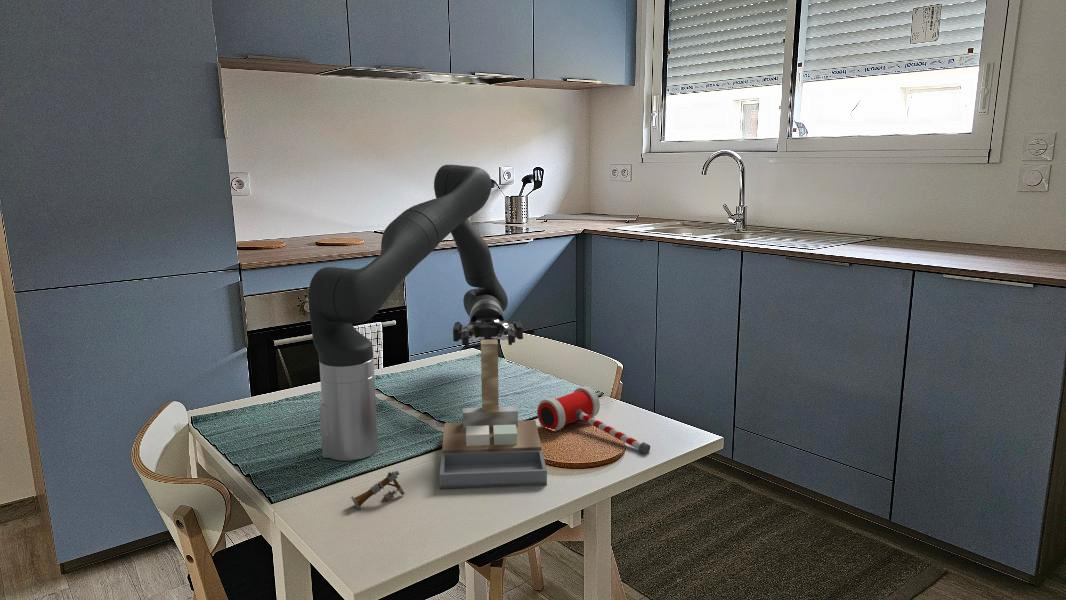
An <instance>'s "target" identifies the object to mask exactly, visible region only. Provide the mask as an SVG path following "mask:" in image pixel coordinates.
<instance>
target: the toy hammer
mask: <svg viewBox="0 0 1066 600" xmlns="http://www.w3.org/2000/svg"><path fill="white" fill-rule="evenodd" d="M600 406H601V403H600V399H599V396H598V394H597V393H596V391H595V390H594V389H593V388H592V387H589V386H586V385H585V386H582V387H581V386H580V387H578V388H576V389H575V390H574V391H573V392H571V393H569V394H566V395H563V396H560V397H556V398H553V397H549V398H546V399H543V400H541V401H540V402H539V403H538V405H537V408H536V414H537V415H536V416H537V419H538V421H539V424H540V425H541V427H542V428H543V427H547V428H551V429H555V430H558V429H560V430H562V429H563V428H564V426H565V425H568V424H571V423H573V422H576V421H579V420H582V421H584V422H586V423H588V424H590V425H592V426H594V427H595V428H597V429H599V430H600V431H603V432H605V433H607V434H608V435H610V436H612V437H614V438H616V439H618V440H620V441H622V442H623V443H626V444H628V445H629V446H631V447H632V448H635V449H637V450H638V452H639V453H640V454H642V455H646V454H648V453H650V450H651V445H650V444H648V443H646V442H645V441H642V442H641V441H639V440H637V439H635V438H633V437H631V436H629V435H627V434H625V433H623V432H621V431H619V430H617V429H616V428H614V427H612V426H610V425H608V424H607V423H604V422H602V421H600V420H599V419H597V418H595V417H596V416H597V415H598V414H599V412H600V409H601V407H600ZM561 428H562V429H561ZM558 431H559V430H558Z"/></svg>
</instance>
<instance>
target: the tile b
mask: <svg viewBox="0 0 1066 600" xmlns="http://www.w3.org/2000/svg"><path fill="white" fill-rule="evenodd" d="M493 437H494V445H509V444H517V429H516V424H515V425H493Z"/></svg>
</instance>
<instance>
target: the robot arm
mask: <svg viewBox="0 0 1066 600" xmlns="http://www.w3.org/2000/svg"><path fill="white" fill-rule="evenodd" d="M492 182H493V181H492V178H491V176H490V174H489V173H488V171H486V170H485V169H483V168H481V167H477V166H473V165H472V166H471V165H462V164H461V165H460V164H444V165H441V167H439V168H438V170H437V172H436V173H435V176H434V180H433V190H434V195H435V198H433V199H430V200H426V201H424V202H421V203H418V204H416V205H413V206H411V207H409V208H407V209H405V210H404V211H402V213H401V214H398V216H397V217H395V219H393V220H392V221H391V222H390V223H388V225H387V226H386V227H385V229H384V231H383V233H382V236H381V243H380V253H379V255H377V256H376V257H375V258H374V259H373V260H372V261H371V262H370V263H368V264H367V265H365V266H363V267H362V268H349V267H348V268H347V267H340V266H339V267H336V266H326V267H322V268H320V269H319V270H317V271H316V272H315V273H314V274H313V276H312V278H311V280H310V284H309V287H308V299H307V300H308V301H307V302H308V310H309V311H308V312H309V318H310V319H309V320H310V327H311V335H312V336H311V337H312V341H313V345H314V347H315V349H316V351H317V354H318V361H319V378H320V392H321V403H320V405H319V407H318V410H319V420H320V422H319V423H320V435H321V436H320V437H321V453H322V458H325V459H326V458H329V459H332V460H335V461H341V462H342V461H344V462H345V461H347V462H348V461H349V462H350V461H357V460H361V459H365V458H367V457H370V456H372V455H374V454H376V452H377V451H378V449H379V442H378V441H379V436H378V423H377V422H378V421H377V420H378V419H377V418H378V417H377V400H376V399H377V398H376V397H377V396H376V380H375V362H374V345H373V342H372V341H371V340H370V339H369V338H368V337H366V336H365V335H363V334H361V333H360V331H358V330H357V329H356V327H354V325H353V324H362V323H365V322H367V321H369V320H370V319H371V318H373V317H374V316H375V315H376V314H377V313H378V312H379V310H380V309H381V308H382V306H383V305H384V304H385V303H386V301H387V300H388V299H389V298H390V296H391V295H392V293H393V292H394V291H395V290H396V289H397V288H398V286H399V285H400V284H401V282H402V281H403V280H405V278H406V277H407V276H408V275H409V274H410V273H411V272H412V271H413V270H414V269H415V268H416V267H417V266H418V265H419V264H420V263H421V262H423V260H425V259H426V258H427V257H428V256H429V255H430V254H431V253H432V252H433V251H434V250H435V249H436V248H437V246H439V244H440V243H441V242H442V241H443V240H444V239H445V238H446V237H447V236H449V234H451V237H452V238H453V240H454V243H455V245H456V248H457V251H458V255H459V258H460V263H461V267H462V271H463V275H464V279H465V281H466V284H467V285H468V286H470V287H473V288H472V289H469V290H468V291H466V292H465V293H464V296H463V299H462V300H463V307H464V311H465V312H466V314H467V315H468V317H469V323H468V324H467V325H463V324H462V323H461V322H459V321H455V322H454V325H453V328H452V336H453V337H452V339H453V341H454V342H456V343H457V342H459V341H460V340H461V344H462V345H464V346H465V347H466V348H467V347H469V346H470V342H476V341H478V340H479V341H481V340H491V339H497V340H500V341H505V340H507V343H508V346H513V344H515V343H516V340H517V339H518V340H523V339H524V326H523V324H522V322H521V320H518V319H516V320H514V321H513V322H512V323H508V322H506V321H505V315H504V312H505V311H506V310H507V308H508V305H509V299H508V296H507V293H506V291H505V289H504V287H503V286H502V285H501V282H500V281H499V279H498V277H497V275H496V273H495V268H494V264H493V259H492V254H491V250H490V248H489V246H488V244H487V242H486V241H485V239H484V238H483V237H482V235H481V234H480V233H479V231H478V230H477V228H475V227H474V224H472V223H471V221H470V219H469V218H471V217H472V216H473V215H474V214H476V213H477V212H479V211H480V210H481V209H482V208H483V207H484V206H485V205H486V204H487V202H488V201H489V198H490V195H491V193H492V188H493V187H492V185H493V183H492Z"/></svg>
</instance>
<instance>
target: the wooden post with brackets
mask: <svg viewBox="0 0 1066 600" xmlns="http://www.w3.org/2000/svg"><path fill="white" fill-rule="evenodd" d="M399 475H400V471H398V470H396V471H394V470H392V471H391V472H390V471H389V472H388V473H387V475H386V477H385V478H384V479H382V480H381V481H380V480H379V481H378V482H376V483H375V484H373V486H371V487H370V488H369V489H368V490H367V491H365V492H363V493H361V494H359V495H357V496H355V497H354V496H353V495H352V496H350V499H351V501H352V502H353V504H354V505H355V506H356V508H357V510H358V511H360V510H361V506H362V505H363V504H364V503H365V502H366V501H367V500H369V498H371V497H373V496H375V495H377V494H378V493H379V492H380V491H381V490H384V489H385V487H386V486H391V487H395V488H396V489H395V490H394V489H393V490H392V491H391V490H388V492H387V493H385V494H383V497H382V499H381V501H382V502H389V501H390V500H391V499H392V498H393V499H394V498H395V497H394V495H397V492H399V493H400V495H401V496H402V495H403V496H404V494H405V493H406V492H405V491H404V489H403V487H402V486H401V485H400V484H399V481H398V480H397V479H398V478H399V477H398V476H399ZM392 482H393V483H392Z"/></svg>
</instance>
